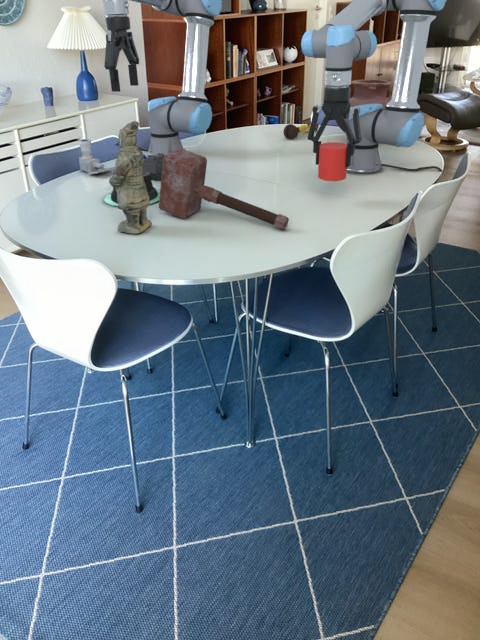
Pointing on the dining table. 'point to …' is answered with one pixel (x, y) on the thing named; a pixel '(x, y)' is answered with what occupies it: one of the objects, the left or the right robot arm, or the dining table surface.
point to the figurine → (296, 130)
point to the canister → (332, 161)
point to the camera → (90, 159)
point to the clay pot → (368, 94)
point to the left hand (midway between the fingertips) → (125, 88)
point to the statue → (131, 182)
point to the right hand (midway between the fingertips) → (332, 164)
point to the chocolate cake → (152, 192)
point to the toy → (154, 165)
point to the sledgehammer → (200, 190)
